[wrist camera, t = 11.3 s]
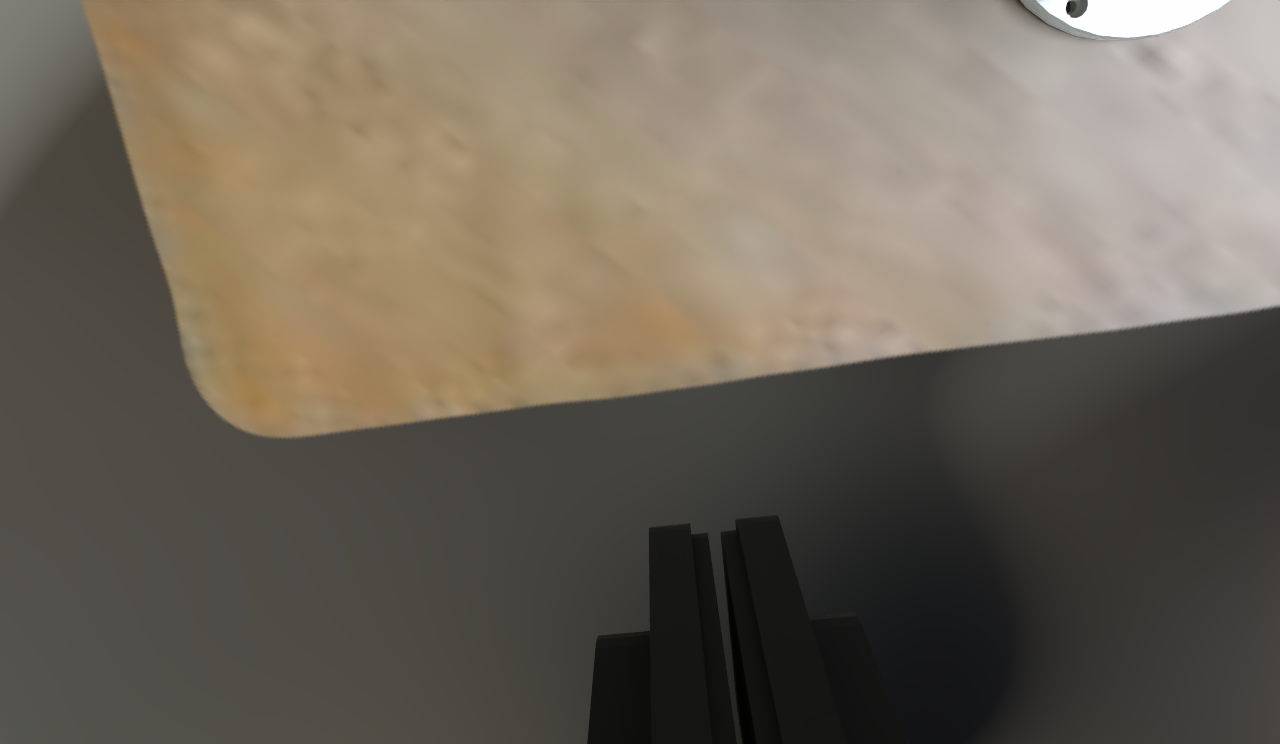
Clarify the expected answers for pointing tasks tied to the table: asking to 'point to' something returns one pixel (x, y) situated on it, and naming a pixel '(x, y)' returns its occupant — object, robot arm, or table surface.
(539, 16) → the table surface
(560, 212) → the table surface
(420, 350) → the table surface
